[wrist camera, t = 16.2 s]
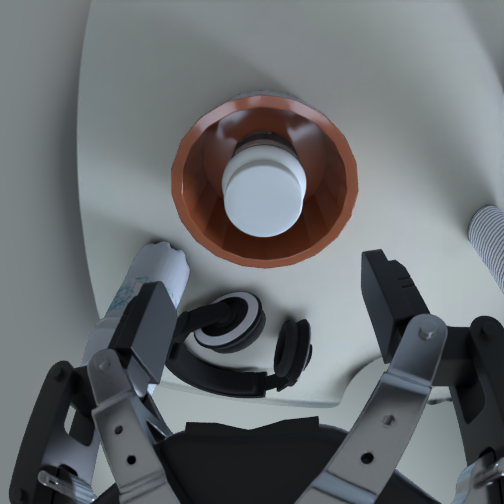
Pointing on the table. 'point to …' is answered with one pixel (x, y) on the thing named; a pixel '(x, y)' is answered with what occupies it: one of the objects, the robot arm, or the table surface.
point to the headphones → (237, 347)
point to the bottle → (141, 271)
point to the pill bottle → (263, 184)
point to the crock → (311, 157)
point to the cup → (489, 240)
